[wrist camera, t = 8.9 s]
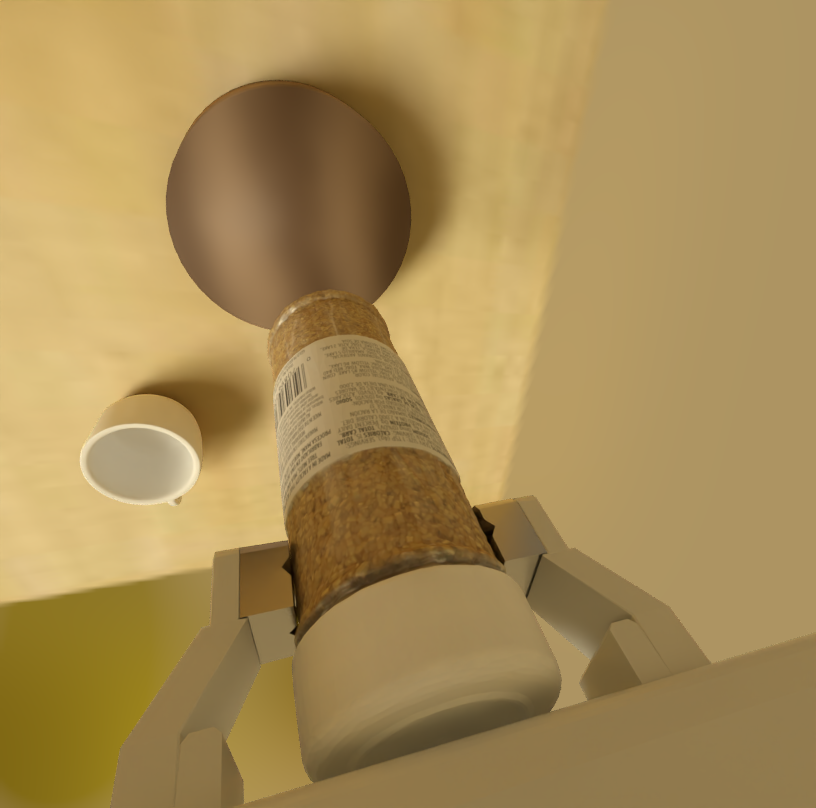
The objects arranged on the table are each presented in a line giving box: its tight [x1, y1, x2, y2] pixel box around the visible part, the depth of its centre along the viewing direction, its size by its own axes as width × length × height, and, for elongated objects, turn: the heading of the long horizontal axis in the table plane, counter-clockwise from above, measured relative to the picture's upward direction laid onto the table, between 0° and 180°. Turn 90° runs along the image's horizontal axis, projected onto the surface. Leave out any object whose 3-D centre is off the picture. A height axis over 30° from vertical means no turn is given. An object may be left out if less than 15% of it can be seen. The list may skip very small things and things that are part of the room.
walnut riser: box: [166, 80, 411, 330], centre depth 31 cm, size 14×14×4 cm
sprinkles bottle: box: [268, 289, 561, 783], centre depth 13 cm, size 5×5×13 cm
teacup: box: [80, 394, 203, 506], centre depth 37 cm, size 10×8×5 cm
